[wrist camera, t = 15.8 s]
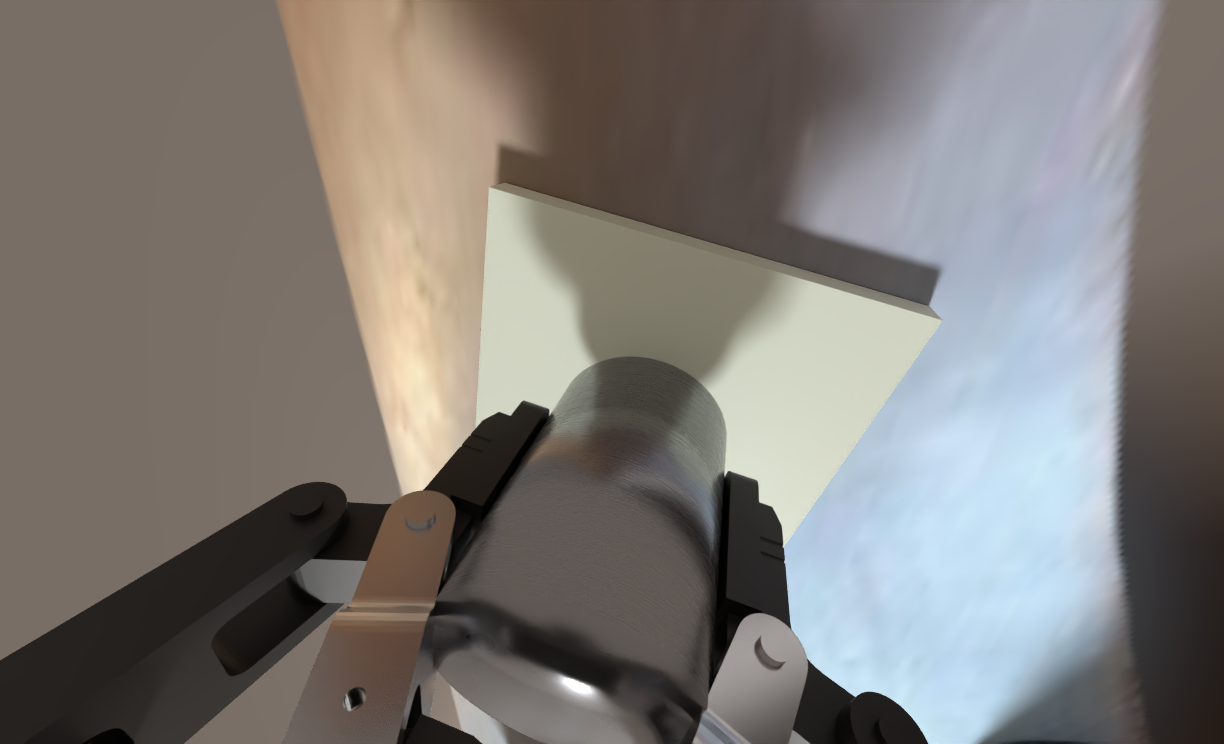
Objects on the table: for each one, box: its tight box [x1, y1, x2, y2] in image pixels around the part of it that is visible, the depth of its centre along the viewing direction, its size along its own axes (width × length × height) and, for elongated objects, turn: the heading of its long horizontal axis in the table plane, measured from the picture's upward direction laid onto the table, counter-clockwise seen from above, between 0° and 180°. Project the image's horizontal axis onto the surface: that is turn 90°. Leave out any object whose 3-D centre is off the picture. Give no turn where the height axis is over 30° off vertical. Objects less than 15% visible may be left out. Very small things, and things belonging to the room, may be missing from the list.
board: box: [476, 183, 942, 548], centre depth 18 cm, size 13×20×1 cm, turn 168°
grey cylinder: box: [432, 356, 727, 744], centre depth 10 cm, size 5×5×7 cm
